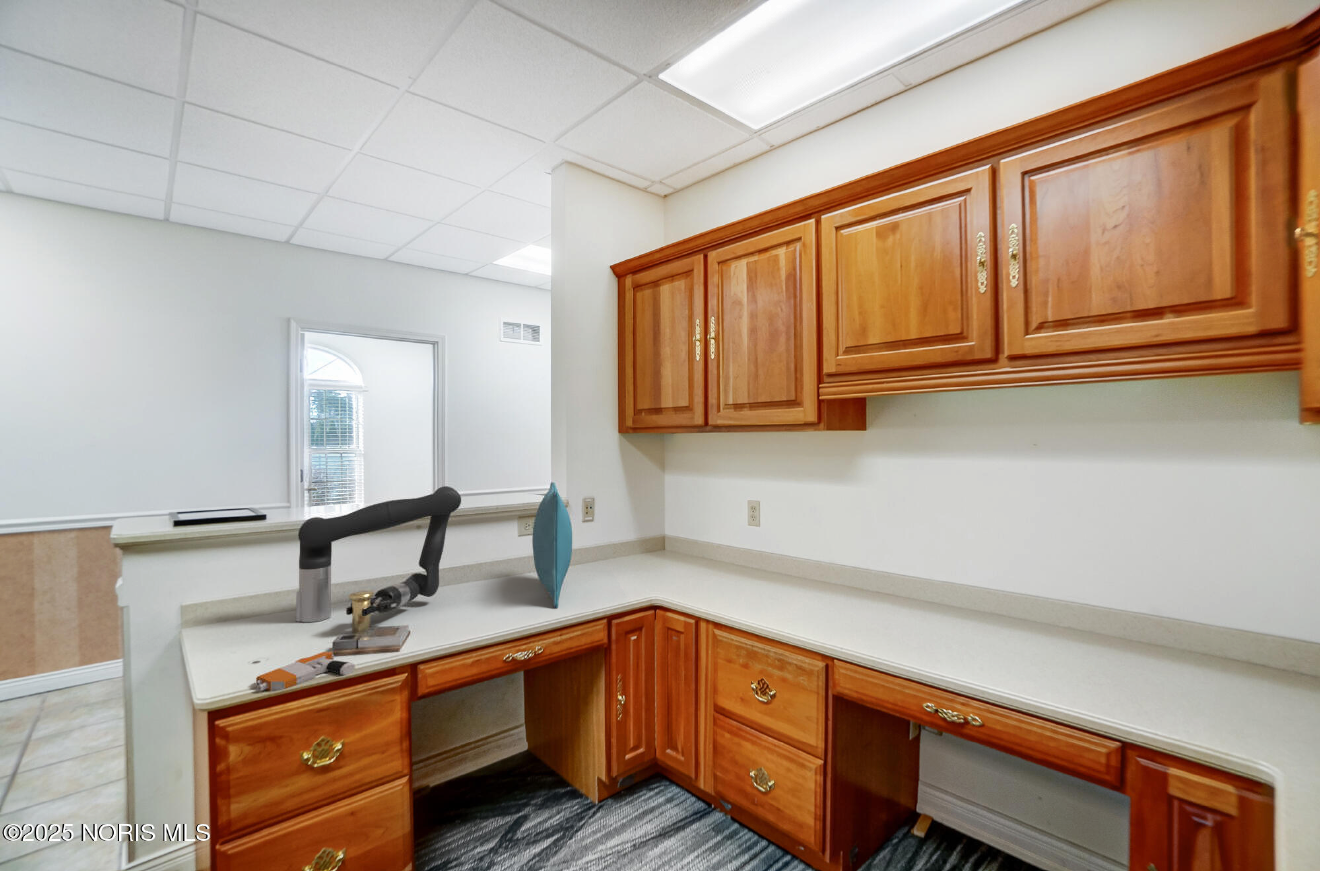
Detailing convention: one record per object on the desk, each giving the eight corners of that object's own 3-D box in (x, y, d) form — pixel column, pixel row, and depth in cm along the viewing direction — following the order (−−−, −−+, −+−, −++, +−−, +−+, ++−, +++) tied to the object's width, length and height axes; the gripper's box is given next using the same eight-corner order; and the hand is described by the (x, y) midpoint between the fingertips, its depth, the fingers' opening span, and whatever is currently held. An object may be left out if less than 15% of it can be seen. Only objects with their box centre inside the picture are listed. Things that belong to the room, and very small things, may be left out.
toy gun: (357, 659, 150) (321, 647, 157) (280, 689, 133) (245, 675, 140) (357, 672, 150) (322, 660, 157) (280, 704, 133) (245, 689, 140)
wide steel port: (358, 649, 162) (358, 640, 162) (369, 635, 173) (369, 627, 173) (400, 646, 164) (400, 637, 164) (408, 633, 175) (408, 624, 175)
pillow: (532, 580, 244) (533, 481, 244) (568, 578, 247) (569, 481, 247) (531, 610, 202) (532, 491, 202) (575, 607, 205) (575, 490, 205)
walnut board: (328, 656, 159) (328, 652, 159) (346, 637, 174) (346, 634, 174) (399, 651, 163) (399, 648, 163) (410, 633, 177) (410, 630, 177)
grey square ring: (332, 650, 160) (332, 641, 160) (339, 643, 166) (339, 634, 166) (356, 649, 162) (356, 640, 162) (362, 641, 168) (362, 633, 168)
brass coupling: (346, 636, 175) (346, 596, 175) (353, 629, 181) (353, 591, 181) (369, 635, 176) (369, 595, 176) (375, 628, 182) (375, 590, 182)
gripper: (373, 584, 194) (335, 598, 178) (411, 587, 191) (375, 601, 174) (373, 606, 194) (335, 622, 178) (411, 609, 191) (375, 626, 174)
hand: (355, 612), depth 176 cm, fingers closed on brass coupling, 5 cm apart
